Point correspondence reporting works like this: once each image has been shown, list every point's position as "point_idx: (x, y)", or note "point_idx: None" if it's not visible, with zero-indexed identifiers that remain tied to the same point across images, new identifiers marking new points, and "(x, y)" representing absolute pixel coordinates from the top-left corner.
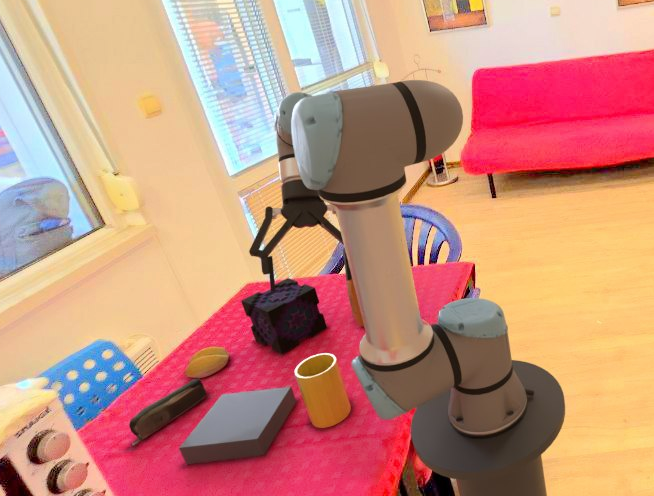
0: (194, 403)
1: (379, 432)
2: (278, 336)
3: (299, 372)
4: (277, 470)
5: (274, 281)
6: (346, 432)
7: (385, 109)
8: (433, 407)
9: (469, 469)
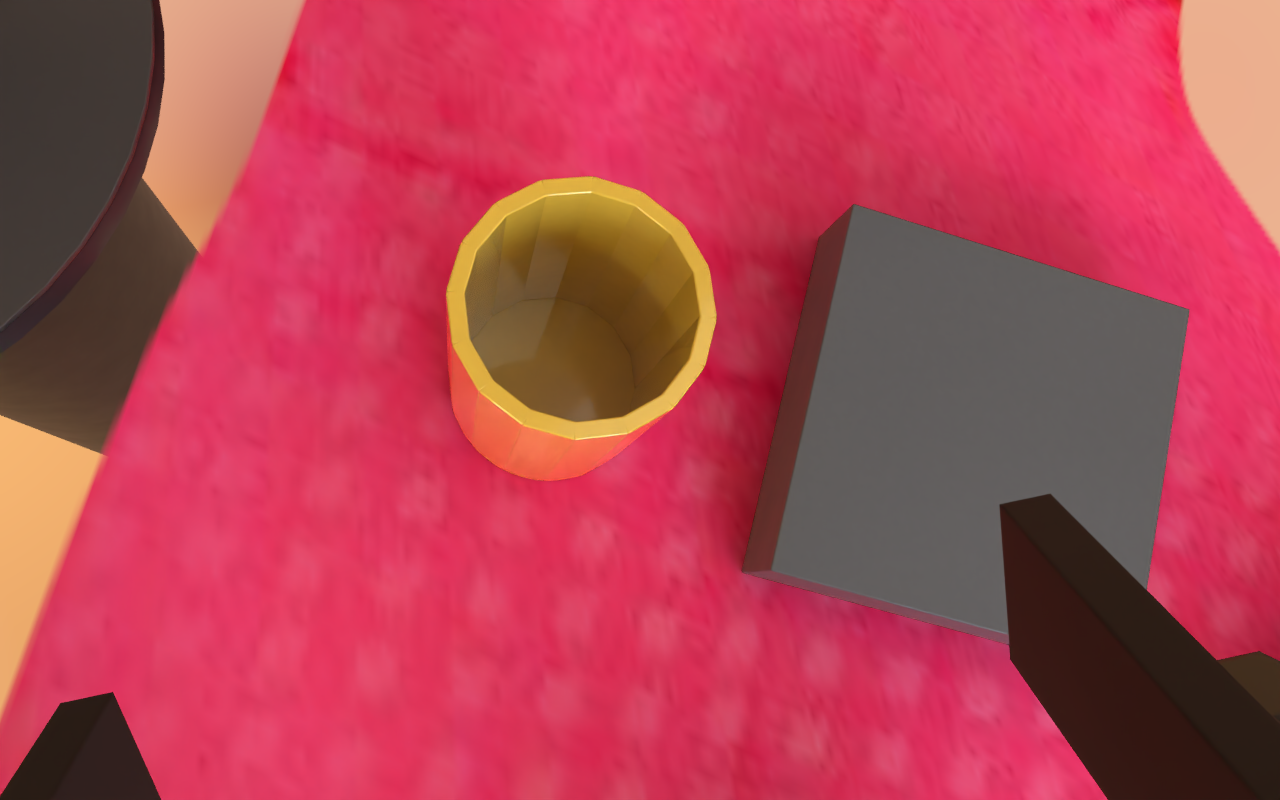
0: None
1: (306, 139)
2: None
3: (689, 334)
4: (744, 120)
5: (1047, 557)
6: (465, 213)
7: None
8: (7, 176)
9: None
